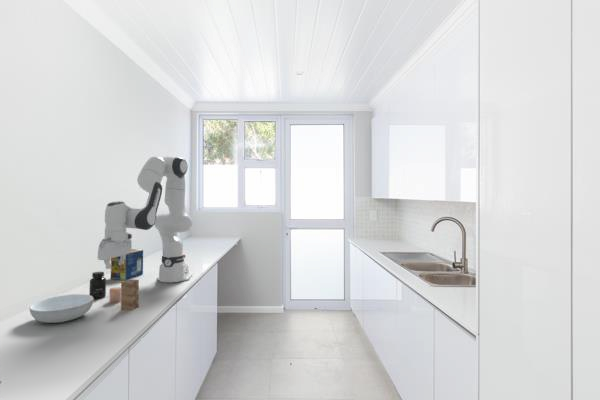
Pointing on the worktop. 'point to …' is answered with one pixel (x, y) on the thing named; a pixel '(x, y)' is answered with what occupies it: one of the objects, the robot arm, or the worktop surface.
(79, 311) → the serving bowl
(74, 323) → the worktop surface
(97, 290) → the supplement bottle
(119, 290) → the cylinder
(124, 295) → the block middle
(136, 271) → the protein box
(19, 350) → the worktop surface
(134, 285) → the block top
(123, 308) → the block bottom
